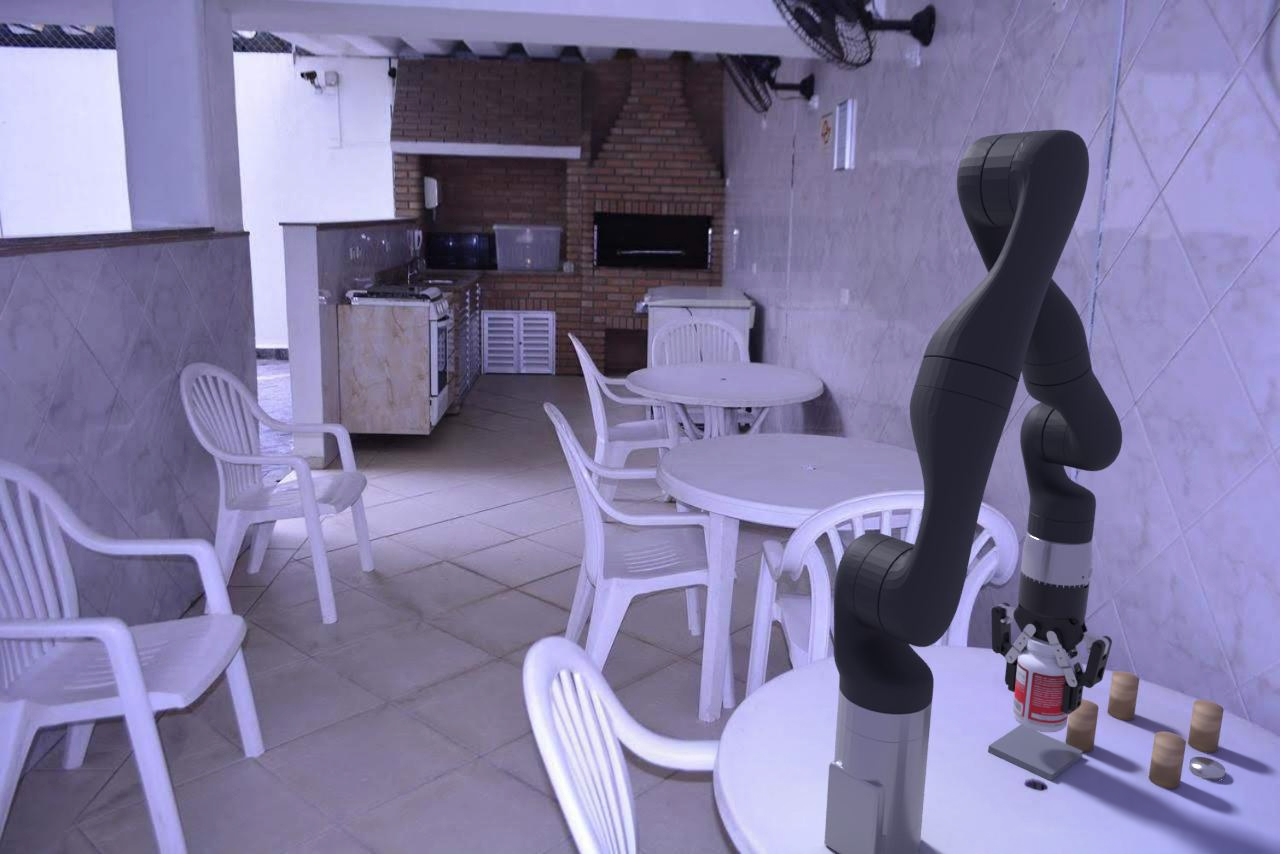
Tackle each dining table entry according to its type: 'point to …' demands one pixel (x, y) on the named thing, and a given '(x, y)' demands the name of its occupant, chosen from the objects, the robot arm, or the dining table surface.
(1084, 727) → the cylinder
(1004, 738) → the slate coaster
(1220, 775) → the shiny metal disc
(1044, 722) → the pill bottle
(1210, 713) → the cylinder
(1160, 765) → the cylinder
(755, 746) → the dining table surface
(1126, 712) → the cylinder
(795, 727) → the dining table surface
